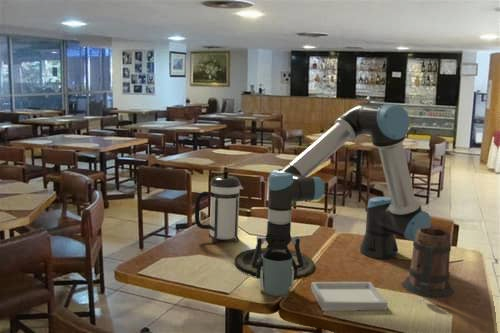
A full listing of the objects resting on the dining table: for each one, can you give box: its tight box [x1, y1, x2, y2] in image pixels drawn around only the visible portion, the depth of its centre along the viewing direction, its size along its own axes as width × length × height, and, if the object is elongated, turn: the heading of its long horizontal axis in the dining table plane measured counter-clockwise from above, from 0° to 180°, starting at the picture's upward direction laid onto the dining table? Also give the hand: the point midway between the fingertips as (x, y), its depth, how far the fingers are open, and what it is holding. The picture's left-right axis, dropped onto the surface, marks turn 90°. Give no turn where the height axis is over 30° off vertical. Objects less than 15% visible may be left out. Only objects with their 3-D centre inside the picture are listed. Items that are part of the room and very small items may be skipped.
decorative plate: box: [234, 247, 315, 279], centre depth 187 cm, size 30×2×30 cm
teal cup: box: [262, 251, 293, 297], centre depth 162 cm, size 10×10×12 cm
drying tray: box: [310, 281, 389, 312], centre depth 158 cm, size 20×16×2 cm
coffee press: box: [194, 169, 244, 244], centre depth 211 cm, size 17×16×30 cm
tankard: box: [401, 227, 455, 299], centre depth 165 cm, size 24×17×20 cm
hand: (276, 287), depth 163 cm, fingers closed on teal cup, 9 cm apart
